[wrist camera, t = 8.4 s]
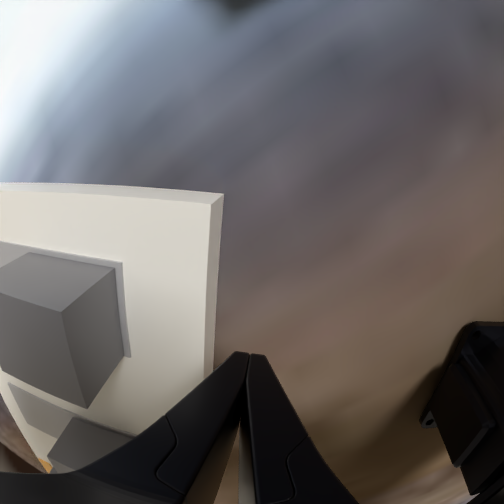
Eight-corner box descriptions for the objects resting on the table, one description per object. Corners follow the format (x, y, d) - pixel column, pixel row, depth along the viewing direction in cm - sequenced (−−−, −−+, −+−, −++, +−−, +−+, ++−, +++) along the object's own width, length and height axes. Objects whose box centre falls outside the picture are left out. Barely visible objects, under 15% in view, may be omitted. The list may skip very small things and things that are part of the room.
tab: (114, 267, 9) (60, 311, 6) (124, 355, 10) (87, 409, 8) (28, 252, 10) (-26, 283, 7) (44, 331, 11) (2, 370, 8)
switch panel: (223, 193, 10) (210, 204, 9) (210, 518, 19) (206, 537, 17) (-27, 182, 11) (-55, 190, 9) (66, 473, 20) (58, 488, 18)
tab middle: (141, 440, 12) (120, 488, 9) (150, 474, 13) (135, 515, 11) (72, 417, 12) (46, 456, 10) (88, 453, 14) (69, 488, 11)
